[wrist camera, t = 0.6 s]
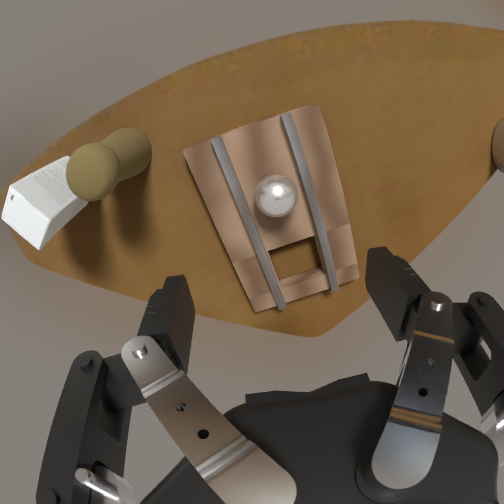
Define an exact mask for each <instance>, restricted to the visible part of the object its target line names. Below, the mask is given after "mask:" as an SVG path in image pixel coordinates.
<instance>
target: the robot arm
mask: <svg viewBox="0 0 504 504" xmlns="http://www.w3.org/2000/svg"><path fill="white" fill-rule="evenodd" d="M492 154H493V159H494V162H495V165H496V167H497V168H498V169H499V170H500V171H501V172H503V173H504V120H502V121H501V122H500V123H499V124H498V125H497V127H496V129H495V131H494V135H493V140H492ZM365 284H366V288H367V291H368V293H369V294H370V296H371V298H372V299H373V301H374V303H375V305H376V306H377V308H378V310H379V311H380V313H381V315H382V317H383V319H384V320H385V322H386V324H387V326H388V327H389V329H390V331H391V333H392V334H393V336H394V338H395V340H396V342H397V341H401V340H404V339H406V340H407V342H408V343H407V346H406V349H405V353H404V356H403V360H402V363H401V367H400V369H399V373H398V376H397V379H396V382H395V384H394V385H393V384H390V383H386V382H380V381H370V380H369V377H368V375H367V373H364V374H360V375H356V376H352V377H348V378H343V379H339V380H337V381H334V382H332V383H330V384H328V385H325V386H323V387H321V388H318V389H316V390H314V391H311V392H290V391H269V392H262V393H253V394H246V395H245V397H246V403H244V404H241V405H239V406H236V407H234V408H232V409H231V410H229V411H227V412H226V413H225V414H223V415H222V414H221V413H220V412H219V411H218V410H217V409H216V407H215V406H213V404H212V403H211V402H210V401H209V400H208V399H207V398H206V397H205V396H204V395H203V393H202V392H201V391H200V390H199V389H198V388H197V387H196V386H195V384H194V383H193V382H192V381H191V380H190V379H189V378H188V376H187V372H188V363H189V356H190V348H191V340H192V333H193V326H194V319H195V308H194V303H193V300H192V297H191V293H190V290H189V287H188V284H187V280H186V278H185V276H184V275H177V276H169V277H167V278H166V280H165V283H164V286H163V289H157V290H156V291H155V292H154V294H153V295H152V296H151V297H150V299H149V302H148V305H147V307H146V310H145V314H144V316H143V319H142V322H141V325H140V328H139V331H138V334H137V337H135V338H132V339H131V340H129V341H128V342H127V343H126V344H125V345H124V347H123V348H122V351H121V353H120V354H118V355H114V356H110V357H107V358H104V359H103V358H102V356H101V355H100V354H99V353H98V352H97V351H86V352H83V353H81V354H80V355H79V356H77V357H76V358H75V360H74V361H73V363H72V365H71V368H70V371H69V374H68V376H67V379H66V382H65V385H64V388H63V391H62V394H61V397H60V400H59V403H58V406H57V410H56V413H55V416H54V419H53V423H52V426H51V430H50V433H49V437H48V441H47V445H46V449H45V453H44V457H43V462H42V466H41V471H40V476H39V481H38V487H37V493H36V503H37V504H136V502H135V500H134V495H133V490H132V487H131V485H130V484H129V483H128V482H127V481H126V480H125V479H123V474H124V463H125V455H126V446H127V438H128V430H129V424H130V417H131V410H132V406H135V405H139V404H142V403H145V402H147V403H148V404H149V406H150V407H151V409H152V410H153V412H154V413H155V415H156V416H157V418H158V419H159V421H160V422H161V423H162V425H163V426H164V428H165V429H166V431H167V432H168V433H169V435H170V436H171V438H172V439H173V440H174V442H175V443H176V444H177V446H178V447H179V448H180V450H181V451H182V452H183V454H184V455H185V456H184V458H183V459H182V460H181V461H180V462H179V463H178V464H177V465H176V466H175V467H174V468H173V469H172V470H171V471H170V473H169V474H168V475H167V476H166V477H165V478H164V479H163V480H162V481H161V482H160V483H159V484H158V485H157V486H156V487H155V488H154V489H153V490H152V491H151V492H150V493H149V494H148V495H147V496H146V497H145V498H144V499H143V500H142V501H141V503H140V504H499V502H498V498H497V474H498V467H500V466H502V465H503V464H504V310H503V309H502V308H501V307H500V305H499V304H498V303H497V302H496V301H495V300H494V298H493V297H492V296H490V295H489V294H487V293H484V292H474V293H472V294H471V295H470V297H469V300H468V302H467V303H453V302H452V300H451V299H450V298H449V297H448V296H447V295H445V294H443V293H441V292H437V291H431V290H430V289H429V287H428V286H427V285H426V284H425V283H424V281H423V280H422V279H421V278H420V277H419V276H418V274H416V272H415V271H414V270H413V269H412V267H411V266H410V265H409V264H408V263H407V262H406V261H405V260H404V259H402V258H400V257H399V256H397V255H396V256H394V255H393V254H392V253H391V252H390V251H389V250H388V249H387V247H385V246H383V247H376V248H370V249H369V250H368V253H367V264H366V275H365ZM483 339H484V341H485V342H486V344H487V345H488V347H489V349H490V351H491V360H490V359H489V357H488V355H487V354H486V352H485V350H484V349H483V347H482V346H481V342H482V340H483ZM452 359H454V361H455V362H456V364H457V366H458V368H459V370H460V372H461V374H462V376H463V377H464V380H465V382H466V384H467V386H468V388H469V390H470V392H471V394H472V396H473V398H474V400H475V402H476V405H477V407H478V409H479V411H480V413H481V416H482V419H481V431H478V430H476V429H474V428H473V427H470V426H469V425H467V424H465V423H463V422H461V421H459V420H457V419H455V418H454V417H452V416H450V415H448V414H446V413H445V412H443V410H444V405H445V401H446V396H447V391H448V385H449V379H450V373H451V366H452Z"/></svg>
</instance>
